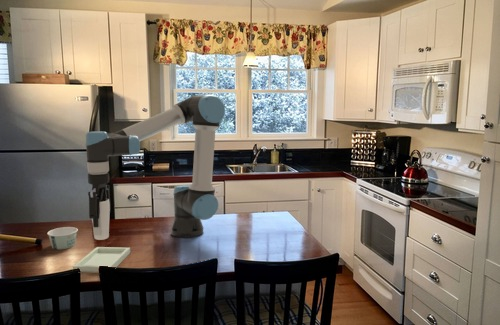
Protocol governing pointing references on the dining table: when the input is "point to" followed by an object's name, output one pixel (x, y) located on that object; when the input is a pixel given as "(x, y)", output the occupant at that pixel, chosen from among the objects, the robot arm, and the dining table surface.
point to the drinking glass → (104, 220)
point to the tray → (102, 258)
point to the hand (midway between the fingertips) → (101, 231)
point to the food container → (63, 237)
